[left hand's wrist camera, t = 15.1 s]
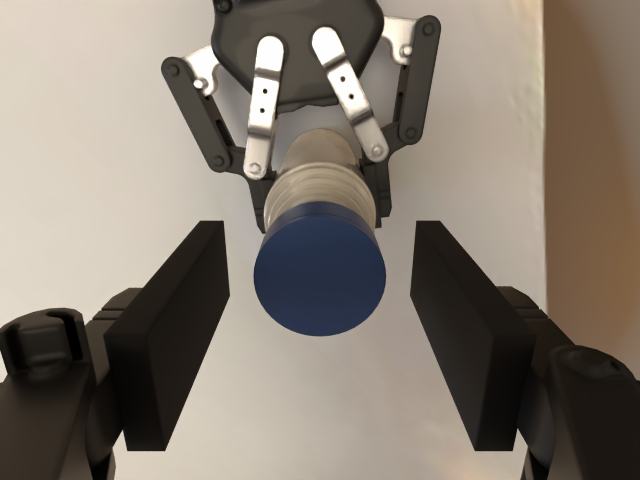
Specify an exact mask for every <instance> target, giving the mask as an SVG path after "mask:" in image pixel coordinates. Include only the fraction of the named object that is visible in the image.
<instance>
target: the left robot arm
mask: <svg viewBox="0 0 640 480" xmlns="http://www.w3.org/2000/svg"><path fill="white" fill-rule="evenodd" d="M229 297H230V291H229V279H228V267H227V255H226V243H225V232H224V221H200V222H199V223H198V224H197V225H196V226H195V227H194V229H193V230H192V231H191V232H190V233H189V234H188V236H187V237H186V238H185V239H184V240H183V241H182V243H181V244H180V245H179V246H178V247H177V249H176V250H175V251H174V252H173V253H172V254H171V256H170V257H169V258H168V259H167V260H166V261H165V263H164V264H163V265H162V266H161V267H160V269H159V270H158V271H157V272H156V273H155V274H154V276H153V277H152V278H151V279H150V280H149V281H148V283H147V284H146V285H145V286H144V287H143V288H128V289H126V290H124V291H123V292H121V293H119V294H117V295H116V296H114V297H112V298H111V299H110V300H109V301H108V302H107V303H106V304H105V305H104V306H103V308H102V310H101V311H99V312H98V313H97V314H96V315H95V316H94V317H93V319H92V320H90V321H89V322H88V323H87V324H86V325H84V321H83V317H82V314H81V313H80V312H78V311H77V310H75V309H69V308H51V309H45V310H41V311H36V312H32V313H29V314H26V315H24V316H21V317H18V318H16V319H14V320H12V321H11V322H9V323H7V324H5V325H4V326H2V327H1V328H0V351H1V354H2V358H3V361H4V364H5V367H6V370H7V373H8V374H7V376H6V378H5V380H4V382H2V383H0V480H114V476H115V469H116V464H115V457H114V453H113V446H114V444H115V442H116V440H117V439H118V437H119V435H120V433H121V432H122V430H123V433H124V437H125V442H126V447H127V451H165V450H166V448H167V445H168V443H169V440H170V438H171V436H172V433H173V431H174V428H175V426H176V424H177V421H178V419H179V416H180V414H181V412H182V409H183V407H184V404H185V402H186V400H187V397H188V395H189V393H190V390H191V388H192V385H193V383H194V381H195V378H196V376H197V373H198V371H199V369H200V366H201V364H202V361H203V359H204V357H205V354H206V352H207V349H208V347H209V345H210V342H211V340H212V337H213V335H214V333H215V330H216V328H217V325H218V323H219V321H220V318H221V316H222V313H223V311H224V309H225V306H226V304H227V301H228V299H229ZM410 297H411V299H412V301H413V304H414V306H415V309H416V311H417V313H418V316H419V318H420V321H421V323H422V325H423V328H424V330H425V333H426V335H427V337H428V340H429V342H430V345H431V347H432V349H433V352H434V354H435V357H436V359H437V361H438V364H439V366H440V369H441V371H442V373H443V376H444V378H445V381H446V383H447V385H448V388H449V390H450V393H451V395H452V397H453V400H454V402H455V404H456V407H457V409H458V412H459V414H460V416H461V419H462V421H463V424H464V426H465V428H466V431H467V433H468V436H469V438H470V440H471V443H472V445H473V448H474V450H475V451H513V447H514V442H515V437H516V433H517V428H518V429H519V431H520V433H521V435H522V436H523V438H524V440H525V442H526V443H527V445H528V448H527V453H526V457H525V462H524V466H523V470H522V475H521V479H520V480H640V381H638V380H636V379H635V377H634V375H633V374H632V372H631V371H630V370H629V369H628V368H627V367H626V366H625V365H624V364H623V363H622V362H620V361H619V360H617V359H616V358H614V357H613V356H611V355H608V354H606V353H604V352H601V351H599V350H597V349H593V348H589V347H584V346H579V345H575V344H574V343H573V342H572V341H571V340H570V339H569V338H568V337H567V336H566V335H565V334H564V333H563V332H562V331H561V330H560V328H558V326H557V325H556V324H555V323H554V322H553V321H552V320H551V319H548V316H547V315H546V314H545V313H544V312H543V311H542V310H541V309H539V307H538V306H537V305H536V304H535V303H534V301H533V300H532V299H531V298H530V297H529V296H527V295H526V294H524V293H522V292H520V291H518V290H517V289H515V288H513V287H511V286H495V285H494V284H493V283H492V281H491V280H490V279H489V278H488V277H487V276H486V274H485V273H484V272H483V271H482V270H481V269H480V267H479V266H478V265H477V264H476V263H475V261H474V260H473V259H472V258H471V257H470V256H469V254H468V253H467V252H466V251H465V250H464V249H463V247H462V246H461V245H460V244H459V243H458V241H457V240H456V239H455V238H454V237H453V236H452V234H451V233H450V232H449V231H448V230H447V229H446V227H445V226H444V225H443V224H442V223H441V222H440V221H416V232H415V243H414V255H413V267H412V279H411V291H410Z"/></svg>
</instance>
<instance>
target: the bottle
mask: <svg viewBox="0 0 640 480" xmlns="http://www.w3.org/2000/svg"><path fill="white" fill-rule="evenodd" d="M314 201H326V202H333V203H337V204H340V205H343V206H345V207H348V208H349V209H351V210H353V211H355V212H356V213H357V214H358V215H360V216H361V217H362V218H363V219H364V220H365V221H366V222H367V224H368V225H369V226H370V228H371V229H372V231H373V233H374V229H375V222H376V209H375V203H374V199H373V197H372V194H371V192H370V190H369V187H368V185H367V183H366V181H365V179H364V176H363V174H362V172H361V170H360V167H359V165H358V163H357V161H356V159H355V156H354V154H353V152H352V150H351V148H350V146H349V144H348V143H347V141H346V140H345V139H344V138H343V137H341V136H340V135H339V134H337V133H335V132H333V131H330V130H326V129H314V130H310V131H307V132H305V133H303V134H301V135H300V136H298V137H297V138H296V139H295V140H294V141H293V143H292V144H291V145H290V147H289V149H288V152H287V154H286V156H285V158H284V160H283V163H282V165H281V167H280V169H279V171H278V174H277V176H276V178H275V180H274V182H273V185H272V187H271V189H270V191H269V193H268V196H267V199H266V202H265V207H264V223H265V231H266V232H267V231H268V229H269V227H270V226H271V224H272V223H273V222H274V221H275V220H276V219H277V218H278V217H279V216H280V215H281V214H282V213H284V212H285V211H287V210H289V209H290V208H292V207H294V206H297V205H299V204H303V203H307V202H314Z"/></svg>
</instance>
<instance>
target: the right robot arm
mask: <svg viewBox="0 0 640 480" xmlns="http://www.w3.org/2000/svg"><path fill="white" fill-rule="evenodd" d="M212 1H213V5H214V11H215V23H214V29H213V32H212V36H211V44H210V45H208V46H206V47H204V48H202V49H200V50H198V51H195V52H193V53H191V54H189V55H187V56H185V57H183V58H178V57H168V58H166V59H165V60H164V61H163V63H162V66H161V72H162V75H163V77H164V79H165V81H166V83H167V85H168V87H169V89H170V91H171V92H172V94H173V96H174V98H175V100H176V102H177V104H178V106H179V108H180V110H181V112H182V114H183V116H184V118H185V120H186V122H187V124H188V126H189V128H190V130H191V132H192V134H193V136H194V138H195V140H196V142H197V144H198V146H199V148H200V150H201V152H202V154H203V156H204V158H205V160H206V162H207V164H208V165H209V167H210V168H211V169H212V170H213V171H215V172H218V173H222V172H230V173H235V174H239V175H241V176H243V177H244V178H245V179H246V180H247V182H248V184H249V188H250V193H251V197H252V202H253V207H254V212H255V216H256V221H257V226H258V228H259V229H260V231H261V232H262V234H266V231H265V223H264V207H265V202H266V199H267V196H268V193H269V191H270V189H271V187H272V185H273V182H274V180H275V178H276V176H277V171H272V167H271V161H272V155H273V149H274V142H275V136H276V131H277V127H278V122H279V116H280V113H286V112H293V111H295V110H297V109H299V108H302V107H304V106H306V105H313V106H322V107H325V106H332V105H338V104H339V103H340V105H341V107H342V109H343V111H344V113H345V115H346V117H347V119H348V121H349V123H350V125H351V127H352V129H353V131H354V133H355V135H356V137H357V139H358V141H359V143H360V145H361V150H362V158H361V159H359V165H360V170H361V172H362V174H363V176H364V179H365V181H366V183H367V185H368V187H369V190H370V192H371V194H372V197H373V199H374V203H375V209H376V222H375V229H376V228H381V227H382V225H381V218H382V217H389V215H390V212H391V209H392V204H391V193H390V182H389V171H388V161H389V158H390V156H391V155H392V154H393V153H394V152H395V151H397V150H399V149H400V148H402V147H404V146H406V145H413V144H416V143H417V142H418V141H419V140H420V139H421V137H422V134H423V128H424V123H425V117H426V111H427V106H428V100H429V95H430V89H431V83H432V78H433V72H434V67H435V61H436V55H437V50H438V44H439V39H440V33H441V24H440V22H439V20H438V19H437V18H436V17H435V16H432V15H427V16H424V17H421V18H419V19H411V18H402V17H393V16H384V15H383V12H382V9H381V7H380V6H379V4H378V3H377V1H376V0H212ZM380 38H382V39H384V40H385V41H386V42H387V43H388V45H389V47H390V57H391V59H392V61H393V62H394V63H396V64H398V65H401V69H400V75H399V82H398V88H397V95H396V102H395V108H394V115H393V121H392V123H390V124H388V125H386V126H384V127H383V128H381V129H380V127H379V125H378V123H377V121H376V119H375V117H374V114H373V111H372V109H371V107H370V105H369V102H368V100H367V98H366V96H365V94H364V92H363V90H362V88H361V86H360V83H359V81H358V80H359V78H360V76H361V74H362V72H363V70H364V69H365V67H366V65H367V63H368V61H369V59H370V57H371V55H372V53H373V51H374V49H375V47H376V45H377V43H378V41H379V39H380ZM220 65H222V66H223V67H224V68H225V69H226V70H227V71H228V72H229V73H230V74H231V75H232V76H233V77H234V78H235V79H236V80H237V81H238V82H239V83H240V84H241V85H242V86H243V87H244V88H245V89H246V90H247V91H248V92H249V93H250V94H251V95H252V99H251V106H250V113H249V120H248V138H247V146H246V148H242V147H237V146H236V145H235V143H234V141H233V139H232V137H231V135H230V133H229V131H228V128H227V126H226V124H225V122H224V120H223V118H222V116H221V114H220V112H219V110H218V107H217V105H216V103H215V101H214V99H213V97H212V94H214V93H215V92H216V91H217V88H218V81H217V78H216V71H217V69H218V67H219V66H220Z"/></svg>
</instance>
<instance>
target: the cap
mask: <svg viewBox="0 0 640 480" xmlns="http://www.w3.org/2000/svg"><path fill="white" fill-rule="evenodd" d="M385 283H386V269H385V264H384V260H383V257H382V255H381V252H380V249H379V246H378V243H377V240H376V238H375V235H374V233H373V231H372V229H371V228H370V226H369V225H368V224H367V222H366V221H365V220H364V219H363V218H362V217H361V216H360V215H358V214H357V213H356V212H355V211H353V210H351V209H349V208H348V207H345V206H343V205H340V204H337V203H333V202H326V201H314V202H307V203H303V204H299V205H297V206H294V207H292V208H290V209H289V210H287V211H285V212H284V213H282V214H281V215H280V216H279V217H278V218H277V219H276V220H275V221H274V222H273V223H272V224H271V226H270V227H269V229H268V231H267V232H266V234H265V237H264V239H263V242H262V245H261V248H260V250H259V253H258V256H257V259H256V263H255V267H254V285H255V291H256V293H257V296H258V299H259V301H260V303H261V305H262V306H263V308H264V309H265V311H266V312H267V313H268V314H269V315H270V316H271V317H272V318H273V319H274V320H275V321H276V322H278V323H279V324H281V325H282V326H284V327H285V328H287V329H289V330H291V331H294V332H297V333H300V334H304V335H309V336H331V335H336V334H340V333H343V332H346V331H348V330H350V329H352V328H354V327H356V326H358V325H359V324H361V323H362V322H363V321H364V320H366V319H367V318H368V317H369V316H370V315H371V314H372V313H373V311H374V310H375V309H376V307H377V306H378V304H379V302H380V300H381V298H382V295H383V293H384V288H385Z"/></svg>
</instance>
